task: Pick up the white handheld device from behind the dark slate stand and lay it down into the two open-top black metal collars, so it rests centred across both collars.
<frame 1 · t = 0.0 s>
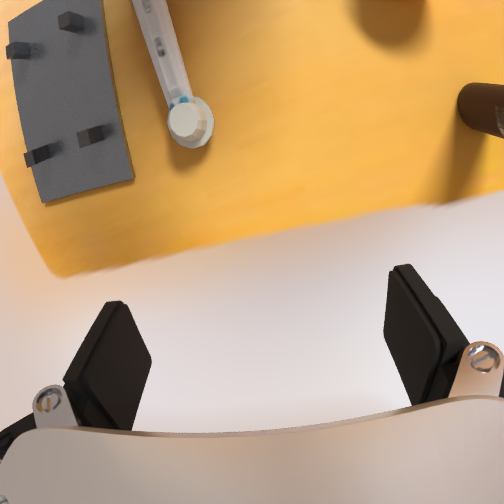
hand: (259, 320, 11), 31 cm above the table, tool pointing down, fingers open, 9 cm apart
wine bottle: (474, 105, 34), on the table
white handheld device: (171, 51, 33), on the table
collar stand: (62, 88, 34), on the table
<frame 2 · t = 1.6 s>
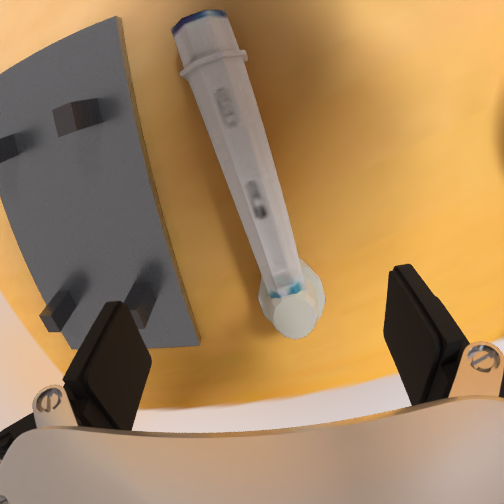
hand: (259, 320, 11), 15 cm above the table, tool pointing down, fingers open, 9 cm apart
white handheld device: (257, 177, 25), on the table
collar stand: (77, 214, 26), on the table
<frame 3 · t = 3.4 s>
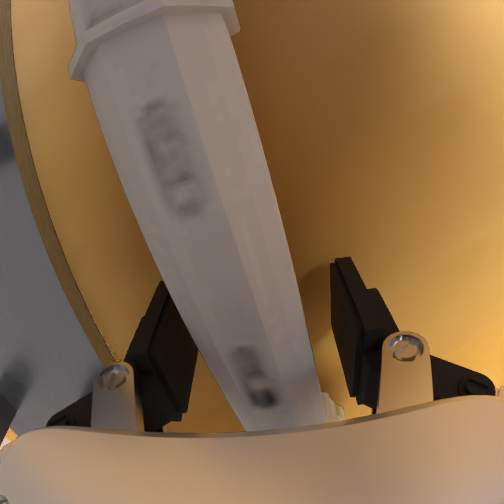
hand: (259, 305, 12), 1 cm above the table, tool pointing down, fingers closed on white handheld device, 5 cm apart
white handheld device: (256, 280, 13), on the table, touching gripper
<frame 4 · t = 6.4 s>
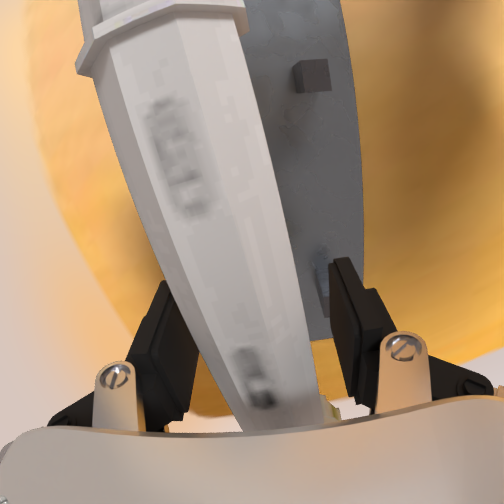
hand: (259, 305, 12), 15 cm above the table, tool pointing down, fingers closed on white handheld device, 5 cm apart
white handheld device: (257, 281, 13), point 13 cm above the table, touching gripper
collar stand: (257, 190, 25), on the table
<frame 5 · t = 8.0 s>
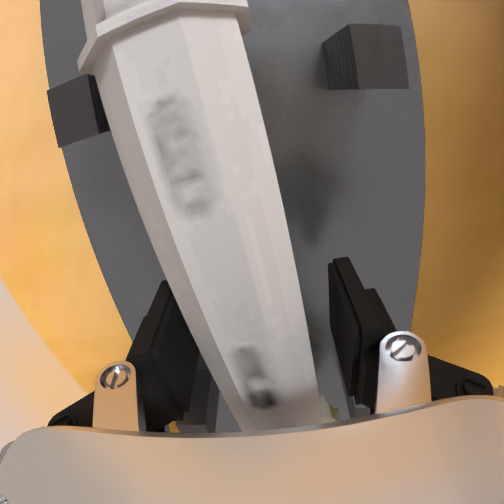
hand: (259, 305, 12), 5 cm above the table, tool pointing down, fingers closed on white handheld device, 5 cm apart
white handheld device: (257, 281, 13), point 3 cm above the table, touching gripper
collar stand: (259, 248, 16), on the table
when the fingers open (3 cm above the table, at t = 9.4 s): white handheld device drops 1 cm, resting on collar stand.
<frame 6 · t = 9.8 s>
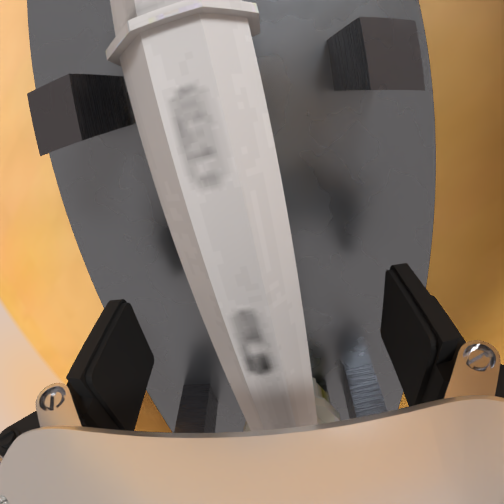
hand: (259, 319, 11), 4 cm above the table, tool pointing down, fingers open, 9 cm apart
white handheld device: (255, 261, 14), point 1 cm above the table, touching collar stand
collar stand: (258, 260, 15), on the table
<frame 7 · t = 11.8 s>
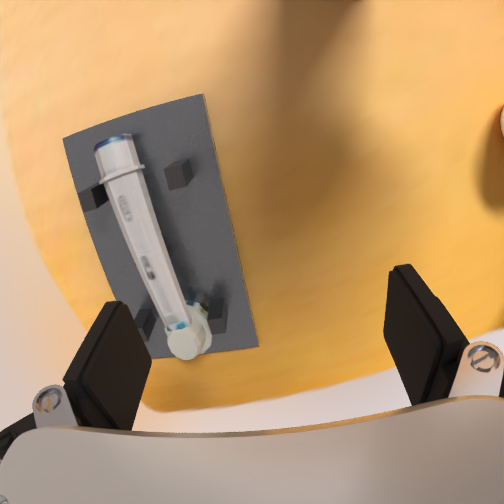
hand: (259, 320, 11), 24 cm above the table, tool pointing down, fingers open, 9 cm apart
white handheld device: (160, 246, 35), point 1 cm above the table, touching collar stand
collar stand: (164, 247, 36), on the table
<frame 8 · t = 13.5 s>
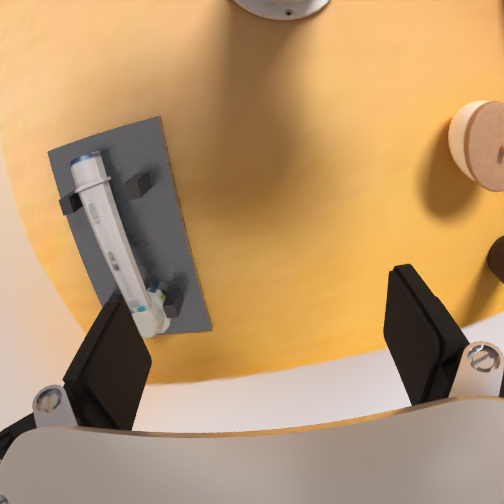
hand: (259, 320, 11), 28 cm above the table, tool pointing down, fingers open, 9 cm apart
lidded jar: (465, 135, 34), on the table
wine bottle: (501, 252, 41), on the table
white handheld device: (127, 242, 40), point 1 cm above the table, touching collar stand
collar stand: (130, 242, 41), on the table
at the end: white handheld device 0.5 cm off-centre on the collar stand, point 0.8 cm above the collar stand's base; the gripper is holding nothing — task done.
